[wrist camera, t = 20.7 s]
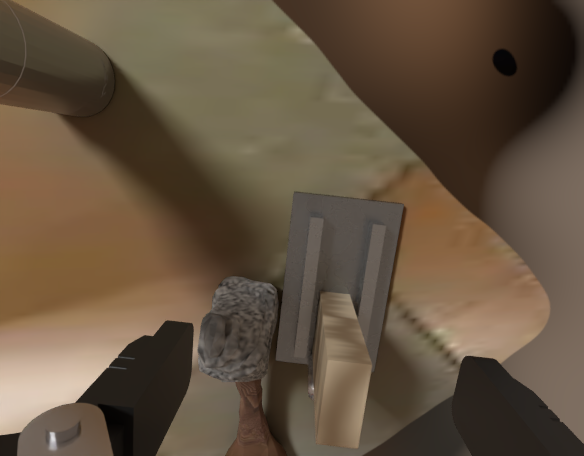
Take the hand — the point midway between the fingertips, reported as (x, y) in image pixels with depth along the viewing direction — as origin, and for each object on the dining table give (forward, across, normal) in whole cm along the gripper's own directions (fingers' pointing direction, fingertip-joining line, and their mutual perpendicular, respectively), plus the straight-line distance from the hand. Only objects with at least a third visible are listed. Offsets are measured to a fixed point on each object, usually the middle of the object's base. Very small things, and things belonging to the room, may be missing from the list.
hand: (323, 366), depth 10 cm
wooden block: (+35, -5, +16) cm, 39 cm away
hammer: (+36, +5, +25) cm, 45 cm away
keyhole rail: (+36, -5, +11) cm, 38 cm away
